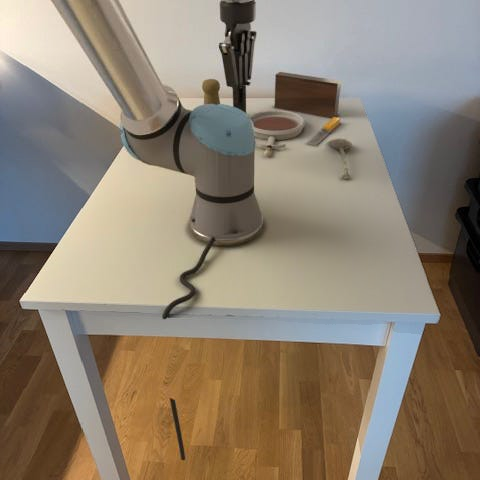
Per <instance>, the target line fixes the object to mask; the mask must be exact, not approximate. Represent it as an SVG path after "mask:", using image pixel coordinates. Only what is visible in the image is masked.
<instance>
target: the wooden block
mask: <svg viewBox="0 0 480 480" xmlns="http://www.w3.org/2000/svg"><path fill="white" fill-rule="evenodd" d="M274 76H275V79H274V80H275V81H274V82H275V83H274V108H275V109H279V110H284V111H290V112H295V113H296V112H297V113H302V114H308V115H313V116H320V117H325V118H330V119H332V118H333V117H336V118H337V116H338V113H339V104H340V95H341V89H342V88H341V87H342V80H338V79H331V78H325V77H317V76H311V75H304V74H297V73H291V72H286V71H285V72H284V71H278V72H277V73H276V74H275V75H274Z"/></svg>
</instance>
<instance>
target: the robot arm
mask: <svg viewBox="0 0 480 480" xmlns="http://www.w3.org/2000/svg"><path fill="white" fill-rule="evenodd" d="M50 2H51V3H52V4H53V6H54V8H55V9H56V10H57V12H58V14H59V16H60V17H61V18H62V20H63V21H64V23H65V25H66V26H67V27H68V29H69V30H70V32H71V34H72V35H73V37H74V38H75V40H76V42H77V44H79V46H80V47H81V49H82V51H83V52H84V54H85V56H86V57H87V59H88V60H89V61H90V63H91V64H92V67H93V68H94V69H95V70H96V73H97V74H98V75H99V77H100V78H101V81H102V82H103V83H104V85H105V86H106V88H107V89H108V91H109V93H110V94H111V95H112V97H113V98H114V100H115V101H116V103H117V104H118V107H120V109H121V111H120V114H119V115H120V116H119V119H120V122H119V130H120V131H122V133H121V134H120V139H121V142H122V145H123V147H124V148H125V150H126V151H127V153H128V154H129V155H130V156H131V157H132V158H133V159H135V160H137V161H139V162H141V163H143V164H145V165H147V166H153V167H158V168H162V169H165V170H170V171H172V172H173V171H174V172H176V173H181V174H185V175H189V176H192V177H193V178H194V185H195V197H194V200H193V205H192V208H191V211H190V212H191V213H190V216H189V229H190V232H191V234H192V236H193V237H194V238H195V239H196V240H197V241H199V242H202V243H204V244H206V245H205V247H204V249H203V251H202V253H201V255H200V257H199V259H198V261H197V263H196V265H195V266H194V267H192V268H190V269H188V270H186V271H183V272H182V273H180V275H179V282H180V283H181V284H182V285H183V286H184V287H185V288H186V289H189V292H188V293H187V294H186V295H183V296H181V297H178V298H176V299H175V300H173V301H171V302H170V303H169V304H168V305H167V306H166V307H165V309H164V311H163V313H162V317H161V318H162V320H166V319H167V318H168V317H169V315H170V313H171V311H173V309H174V308H175V307H176V306H179V305H181V304H183V303H185V302H188V301H190V300H191V299H193V298H194V296H195V294H196V287H195V286H194V285H193V284H192V283H191V282H188V281H187V280H186V277H189V276H191V275H194V274H196V273H197V272H198V271H199V270H200V269H201V268H202V266H203V264H204V262H205V260H206V257H207V255H208V254H209V252H210V250H211V249H212V247H213V246H214V247H215V246H216V247H235V246H239V245H243V244H246V243H249V242H251V241H253V240H254V239H256V238H258V236H259V235H260V234H261V233H262V230H263V228H264V227H263V226H264V218H263V214H262V211H261V209H260V205H259V203H258V202H259V201H258V199H257V196H256V193H255V157H256V155H255V151H256V146H255V143H257V142H256V136H254V125H253V122H252V121H251V118H250V115H249V114H247V86H248V87H249V86H250V85H251V80H252V75H253V74H252V73H253V64H254V53H255V44H256V39H257V36H258V35H257V34H258V33H257V31H255V30H252V25H251V23H253V22H254V21H255V20H256V19H257V18H256V15H257V14H256V11H257V10H256V5H257V4H256V3H257V2H256V0H220V2H219V20H220V21H221V22H222V23H224V25H225V28H224V29H225V30H224V40H223V42H219V43H218V49H219V52H220V55H221V58H222V65H223V71H224V78H225V82H226V83H225V84H226V87H229V88H232V105H229V104H224V103H220V104H218V105H214V104H205V105H204V104H201V105H198V106H196V107H194V108H193V109H192V110H191V109H186V108H185V107H184V106H183V104H182V102H181V100H180V98H179V96H178V94H177V92H176V91H175V90H174V88H172V87H171V86H169V85H167V84H163V83H162V81H161V79H160V77H159V75H158V73H157V72H156V69H155V68H154V66H153V64H152V62H151V60H150V58H149V56H148V54H147V52H146V50H145V48H144V46H143V44H142V43H141V40H140V39H139V37H138V35H137V33H136V31H135V29H134V27H133V25H132V23H131V22H130V19H129V17H128V15H127V13H126V11H125V9H124V7H123V6H122V3H121V2H120V0H50ZM169 402H170V407H171V412H172V418H173V423H174V427H175V433H176V437H177V438H176V439H177V443H178V450H179V455H180V460H181V461H185V460H186V453H185V447H184V441H183V435H182V429H181V425H180V420H179V419H180V418H179V415H178V414H179V413H178V408H177V403H176V400H175V399H174V398H171V397H169Z"/></svg>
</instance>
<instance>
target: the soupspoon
mask: <svg viewBox="0 0 480 480" xmlns="http://www.w3.org/2000/svg"><path fill="white" fill-rule="evenodd" d="M327 144H328V145H329V146H331V147H333V148H335V149H337V150H339V151H340V154H341V158H342V161H343V167H344V168H343V175H342V179H343V180H349V179H350V178H351V174H350V173H349V168H348V164H347V158H346V153H345V150H347V149H349V148H350V147H352V146H353V142H351V141H350V140H349V139H346V138H342V137H340V138H339V137H338V138H333V139H330V140H329V141H327Z"/></svg>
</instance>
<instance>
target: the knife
mask: <svg viewBox="0 0 480 480" xmlns="http://www.w3.org/2000/svg"><path fill="white" fill-rule="evenodd" d="M340 122H341V118H340V117H337V116H336V117H333V118H330V119H329V120H328V121H327V122H326V123H325V124H324V125H323V127H322V128H321V129H320V130H321V131H320V132H319V133H318V134H316V136H315V137H314V138H313V139H311V140H310V142H309V143H308V145H311V146H315V147H316V146H318V145H319V144H320V143H321V142H322V141H323V140H324V139H325V138H326V137H327V136H328V135H330V133H331V132H332V131H333V130H334V129H335V128H336V127H338V126H339V124H340Z"/></svg>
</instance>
